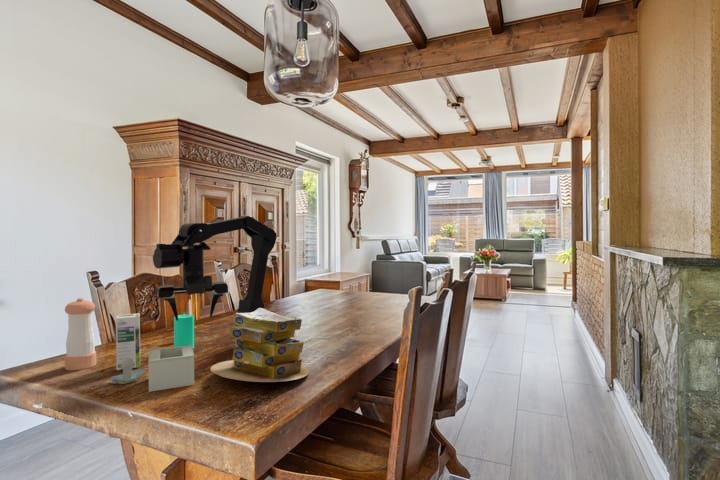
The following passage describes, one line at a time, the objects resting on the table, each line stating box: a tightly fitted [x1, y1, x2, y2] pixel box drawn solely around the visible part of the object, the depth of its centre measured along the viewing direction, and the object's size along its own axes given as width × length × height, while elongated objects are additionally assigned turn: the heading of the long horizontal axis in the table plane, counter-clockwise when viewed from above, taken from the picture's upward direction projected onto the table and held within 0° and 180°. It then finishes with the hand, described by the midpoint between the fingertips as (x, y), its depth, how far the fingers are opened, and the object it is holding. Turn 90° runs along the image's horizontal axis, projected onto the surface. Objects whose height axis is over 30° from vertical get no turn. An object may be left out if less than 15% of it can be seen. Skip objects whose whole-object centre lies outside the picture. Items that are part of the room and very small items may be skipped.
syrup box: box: [115, 312, 141, 371], centre depth 112 cm, size 6×6×14 cm
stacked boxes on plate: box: [210, 307, 310, 383], centre depth 105 cm, size 25×25×17 cm
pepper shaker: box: [64, 297, 97, 371], centre depth 112 cm, size 7×7×19 cm
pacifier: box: [109, 358, 145, 385], centre depth 101 cm, size 7×6×6 cm
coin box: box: [147, 345, 195, 393], centre depth 101 cm, size 10×10×7 cm
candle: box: [173, 313, 195, 350], centre depth 130 cm, size 6×6×12 cm
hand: (194, 318), depth 117 cm, fingers open, 9 cm apart
